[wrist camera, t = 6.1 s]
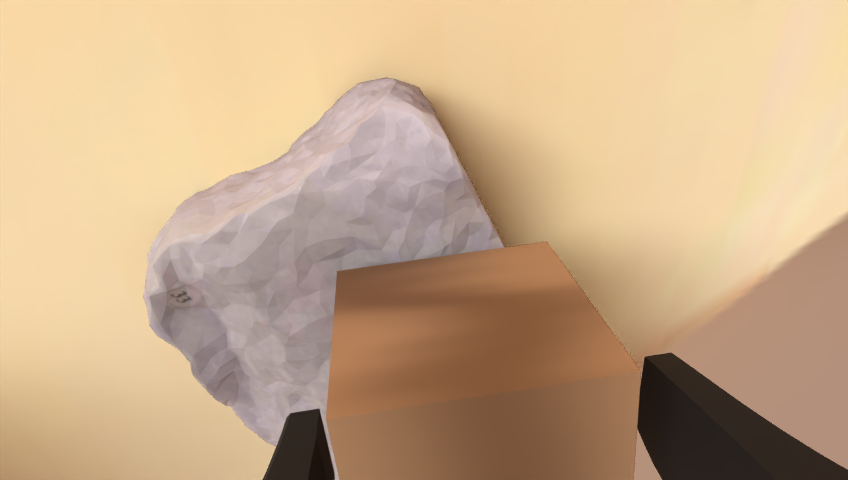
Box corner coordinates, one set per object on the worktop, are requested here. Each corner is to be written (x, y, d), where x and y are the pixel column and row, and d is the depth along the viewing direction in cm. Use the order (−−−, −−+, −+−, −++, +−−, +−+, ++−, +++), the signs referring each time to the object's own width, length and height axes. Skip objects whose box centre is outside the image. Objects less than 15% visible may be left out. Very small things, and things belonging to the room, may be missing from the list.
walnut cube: (368, 434, 15) (371, 622, 11) (336, 270, 13) (325, 419, 9) (549, 405, 16) (626, 578, 11) (546, 241, 14) (641, 371, 9)
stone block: (347, 419, 23) (582, 341, 20) (323, 534, 19) (612, 458, 16) (144, 189, 18) (424, 36, 15) (52, 283, 14) (410, 100, 11)
